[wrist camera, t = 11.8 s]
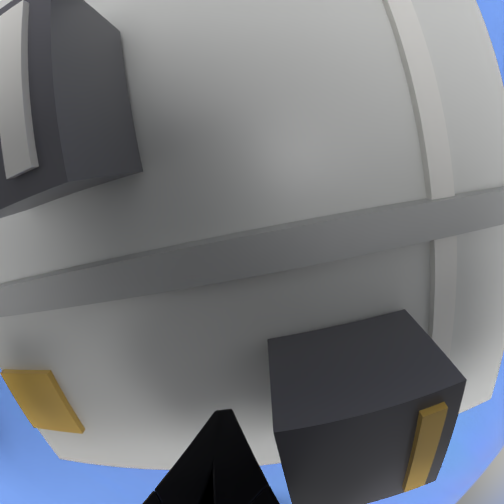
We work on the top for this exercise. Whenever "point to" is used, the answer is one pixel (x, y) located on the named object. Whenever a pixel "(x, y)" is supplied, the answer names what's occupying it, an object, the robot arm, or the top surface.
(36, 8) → the switch middle
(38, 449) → the top surface
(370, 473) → the switch inner
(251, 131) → the console
